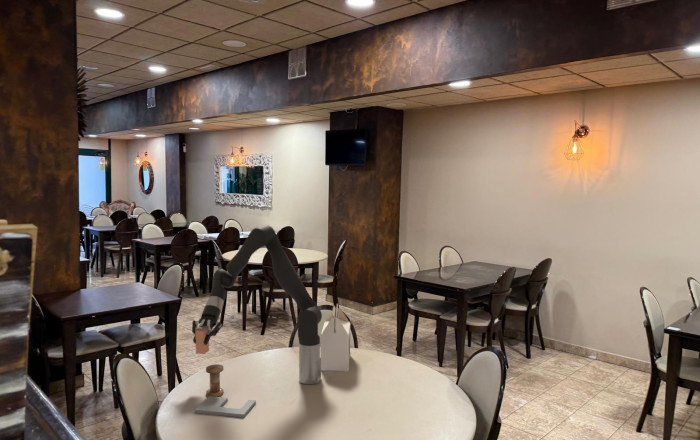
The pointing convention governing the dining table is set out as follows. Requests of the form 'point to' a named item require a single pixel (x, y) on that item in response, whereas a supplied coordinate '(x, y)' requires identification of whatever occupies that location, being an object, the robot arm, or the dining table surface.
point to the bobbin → (214, 380)
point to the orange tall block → (201, 340)
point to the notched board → (215, 407)
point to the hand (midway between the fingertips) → (200, 343)
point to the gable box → (335, 342)
